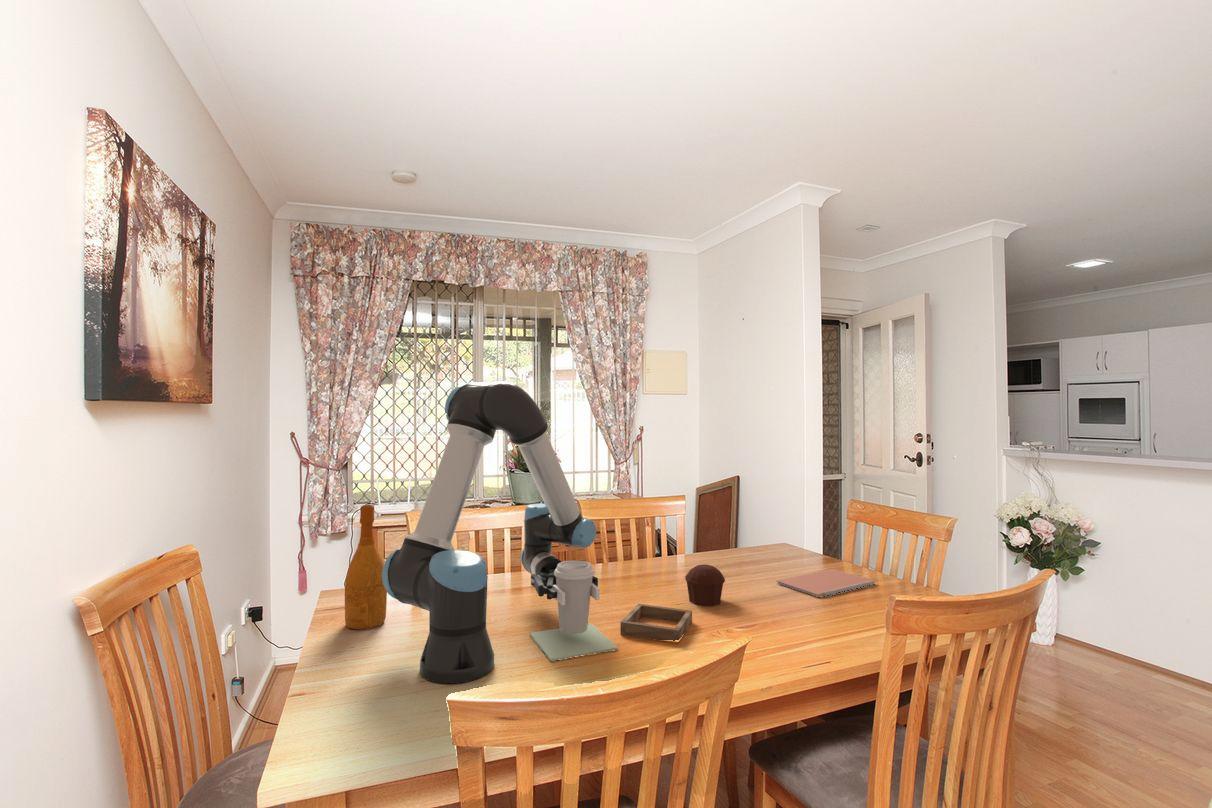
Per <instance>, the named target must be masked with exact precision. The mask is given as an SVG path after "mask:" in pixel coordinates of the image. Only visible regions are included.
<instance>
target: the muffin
mask: <svg viewBox="0 0 1212 808" xmlns="http://www.w3.org/2000/svg"><path fill="white" fill-rule="evenodd" d="M684 578H685V579H684V580H685V581H686V585H687V593H688V600H689V601H688V602H690V603H692V604H693V605H697V606H700V605H701V607H715V606H718V605H720V604H721V600H722V594H723V593H722V592H723V586H724V583H725V581H726V579H725V576H724V575H723V574H722V572H721V571H720V569H719V568H717V567H715V566H713V565H711V564H698V565H696V566H694V567H692V568H691V569H690V570H688V572H687V574H686V575H685V576H684Z"/></svg>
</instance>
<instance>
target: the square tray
mask: <svg viewBox="0 0 1212 808" xmlns="http://www.w3.org/2000/svg"><path fill="white" fill-rule="evenodd" d="M641 618H645V619H646V618H647V619H653V620H660V621H666V622H673V621H674V622H673V623H677V624H676V626H675V627H669V626H665V625H664V626H663V625H656V624H649V623H642V622H638V621H639V620H640V619H641ZM692 623H693V610H690V609H689V610H688V609H682V608H675V607H674V608H673V607H666V606H661V605H660V606H659V605H651V604H645V603H643V604H642V603H637V605H635V607H634V608H633V609H632V610H630V612H629V613H628V614H627V615H626V616H625V617H624V618H623V619H622V620H621V621H620V629H619V630H620V632H619V633H620V635H622V636H629V637H633V638H641V639H647V640H653V639H655V640H654V641H659V640H673V641H675V640H679V639H680V638H681V637H682V635H683V634H684V633H685V632H686V633H687V631H688V629H689V628H690V626H691V625H692ZM686 633H685V634H686ZM685 634H684V635H685ZM682 638H683V637H682Z"/></svg>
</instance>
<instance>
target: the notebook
mask: <svg viewBox="0 0 1212 808" xmlns="http://www.w3.org/2000/svg"><path fill="white" fill-rule="evenodd" d="M775 582H777V585H779V584H780V585H779V586H782V585H783V587H785V586H786V587H785V588H788V587H789V588H788V589H791V588H793V589H792V590H794V589H796V590H795V591H797V590H799V591H798V592H800V591H802V592H801V593H803V592H805V593H808V594H811V595H814V596H817V597H821V596H825V598H826V597H829V596H830V597H833V596H834V595H837V594H840V593H841V594H843V593H844V594H845V593H846V592H849V591H850V592H851V591H852V590H853V591H855V590H856V591H857V590H858V589H861V588H863V589H866V588H868V587H869V588H870V587H871V586H873V587H874V585H875V580H873V579H869V578H866V577H863V576H859V575H856V574H852V573H850V572H846V571H842V570H838V569H835V568H830V569H825V570H819V571H815V572H810V573H805V574H801V575H800V574H799V575H796V576H791V577H786V578H782V579H777V580H776V581H775ZM873 584H874V585H873ZM867 585H868V586H867ZM869 585H870V586H869ZM863 586H864V587H863ZM860 587H861V588H860ZM865 587H866V588H865ZM854 588H855V589H854ZM856 588H858V589H856ZM850 589H852V590H850ZM847 590H849V591H847ZM842 591H843V592H842ZM844 591H845V592H844ZM838 592H840V593H838ZM805 593H804V594H805ZM836 593H837V594H836ZM808 594H807V595H808ZM830 594H831V595H830ZM811 595H810V596H811ZM827 595H829V596H827ZM832 595H833V596H832ZM814 596H813V597H814ZM817 597H816V598H817ZM821 598H822V597H821Z"/></svg>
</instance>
